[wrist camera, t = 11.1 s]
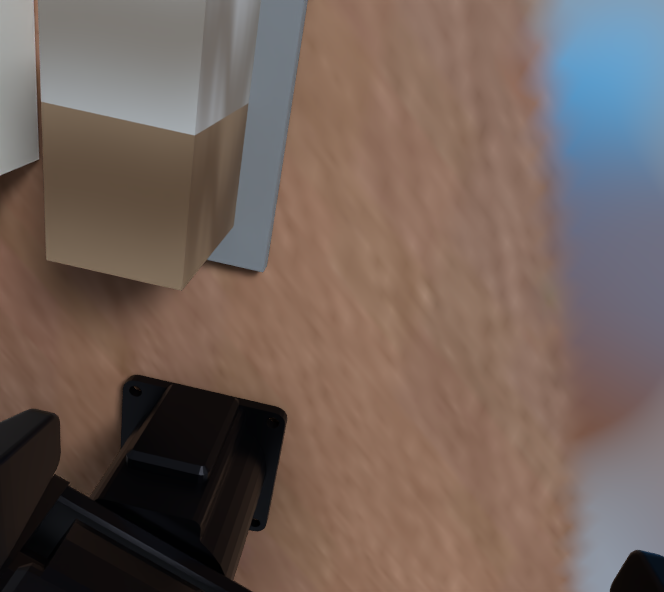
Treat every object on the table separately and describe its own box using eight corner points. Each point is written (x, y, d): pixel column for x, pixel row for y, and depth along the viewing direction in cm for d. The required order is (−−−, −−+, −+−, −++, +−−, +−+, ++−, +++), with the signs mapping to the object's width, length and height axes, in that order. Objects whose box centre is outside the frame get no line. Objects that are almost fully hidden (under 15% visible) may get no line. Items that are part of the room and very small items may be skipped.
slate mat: (266, 265, 21) (263, 272, 20) (101, 228, 21) (93, 233, 21) (317, -61, 16) (313, -63, 16) (105, -106, 17) (95, -110, 16)
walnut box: (233, 226, 20) (181, 290, 15) (128, 202, 20) (46, 260, 15) (262, -15, 17) (208, -23, 12) (136, -43, 17) (35, -59, 12)
